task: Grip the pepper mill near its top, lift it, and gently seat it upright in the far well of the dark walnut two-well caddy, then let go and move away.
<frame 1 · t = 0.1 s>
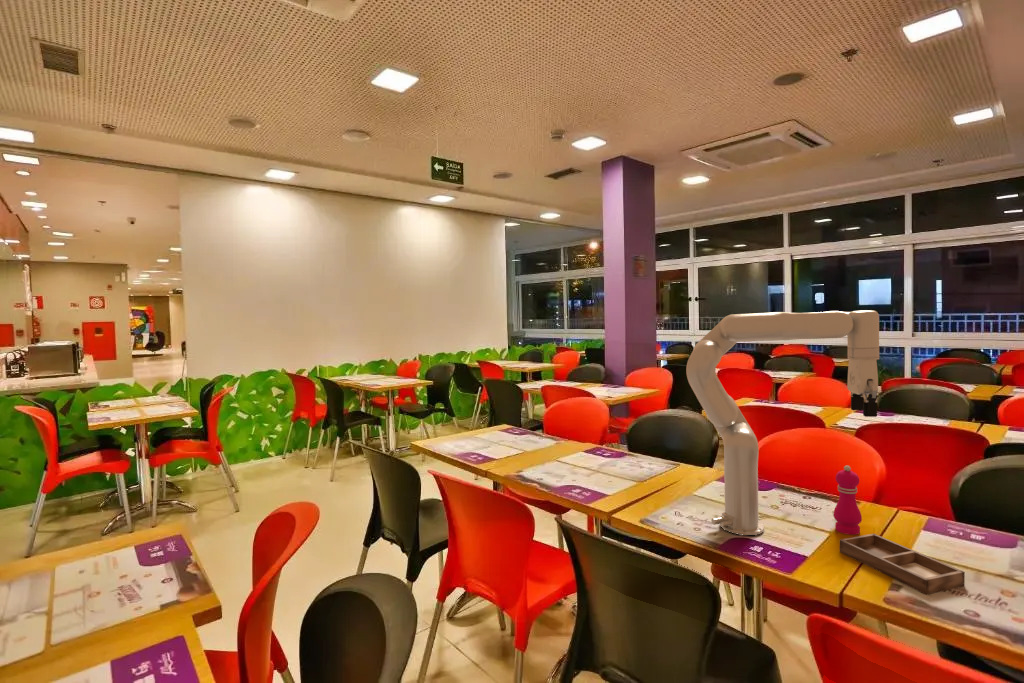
hand: (863, 413, 150), 37 cm above the table, tool pointing down, fingers open, 9 cm apart
caddy: (897, 567, 135), on the table
pepper mill: (847, 531, 158), on the table
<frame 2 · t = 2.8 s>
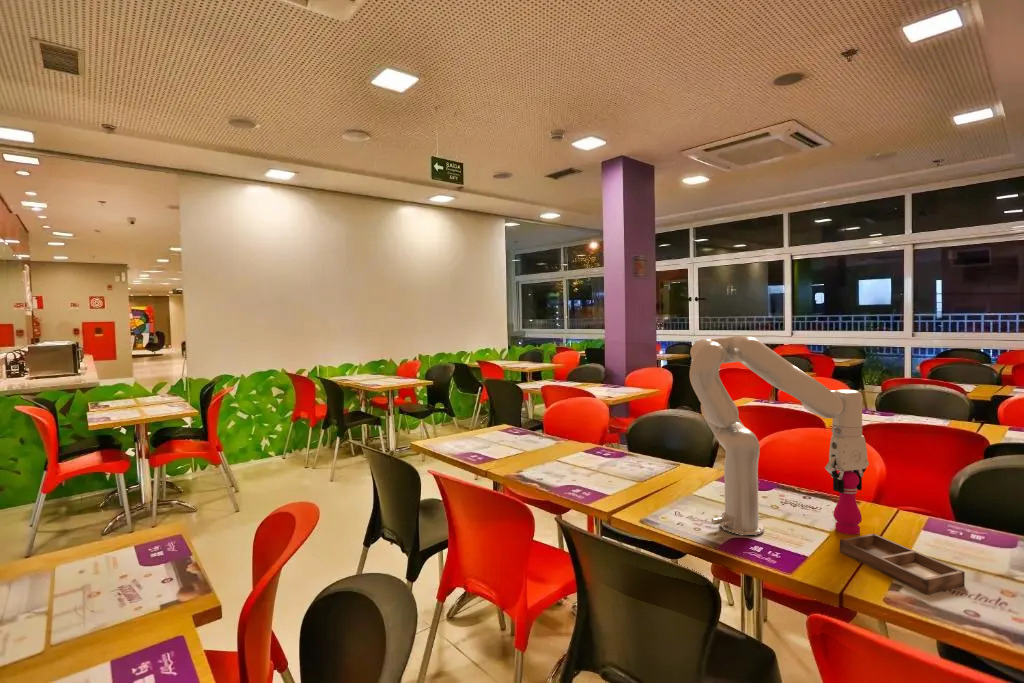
hand: (847, 489, 158), 13 cm above the table, tool pointing down, fingers closed on pepper mill, 6 cm apart
pepper mill: (847, 531, 158), on the table, touching gripper
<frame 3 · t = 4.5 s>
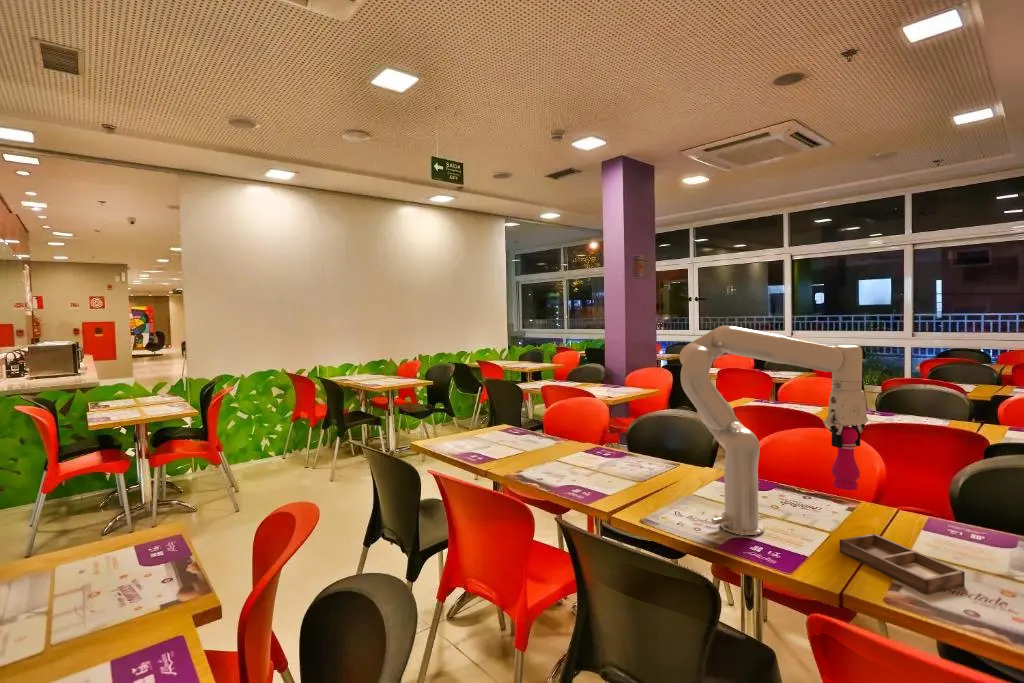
hand: (845, 445, 157), 26 cm above the table, tool pointing down, fingers closed on pepper mill, 6 cm apart
pepper mill: (845, 487, 158), point 13 cm above the table, touching gripper
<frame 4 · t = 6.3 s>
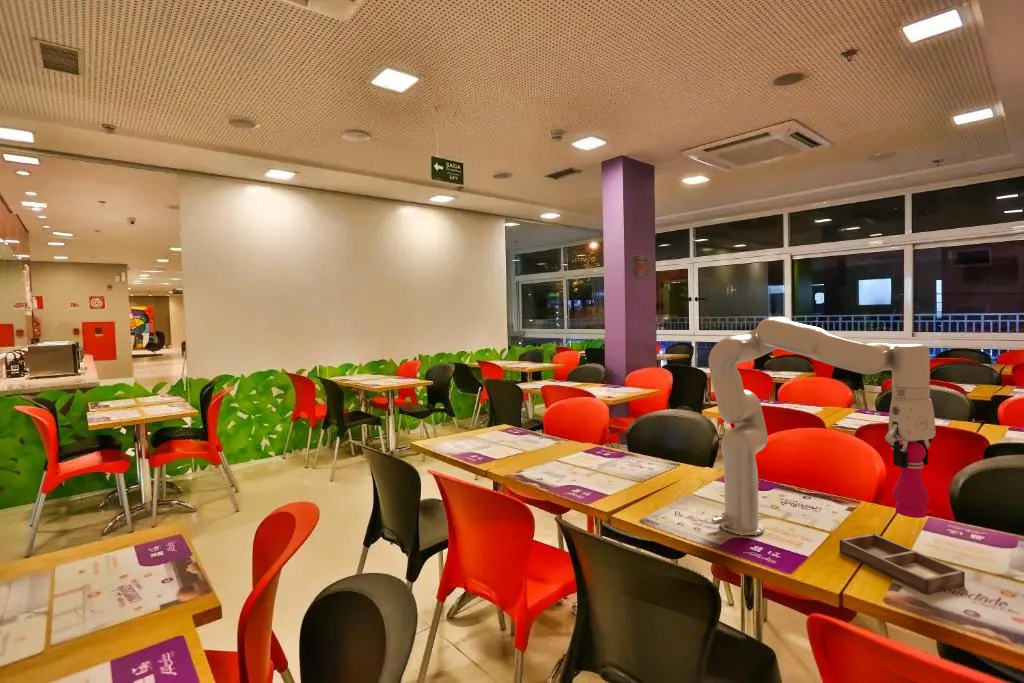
hand: (910, 464, 131), 28 cm above the table, tool pointing down, fingers closed on pepper mill, 6 cm apart
pepper mill: (910, 514, 132), point 15 cm above the table, touching gripper
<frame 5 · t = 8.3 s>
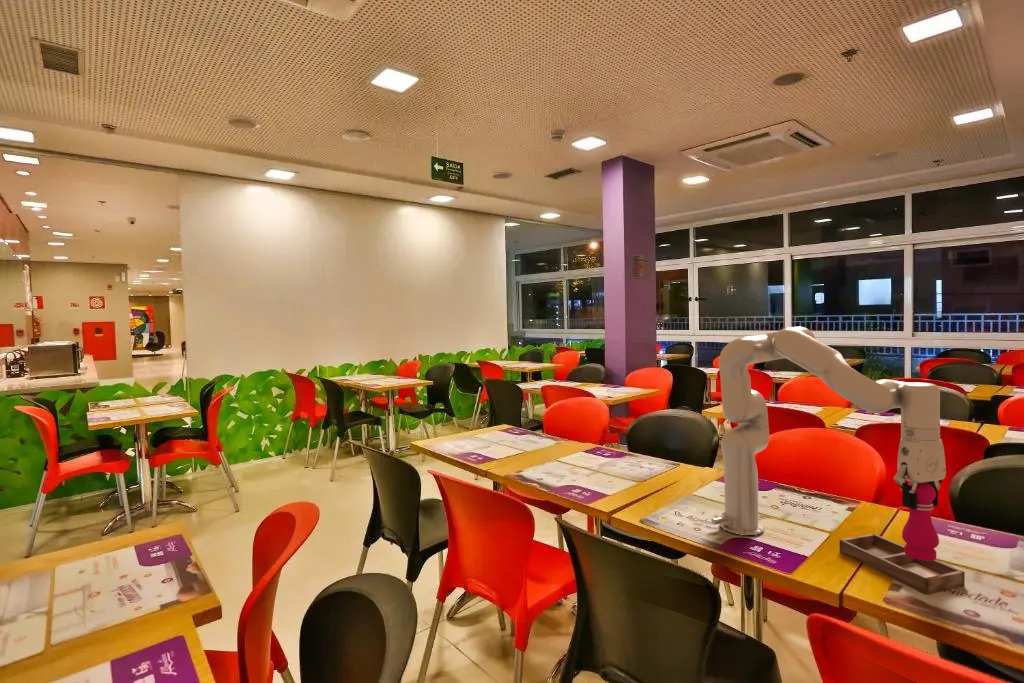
hand: (920, 505, 129), 18 cm above the table, tool pointing down, fingers closed on pepper mill, 6 cm apart
pepper mill: (920, 556, 129), point 6 cm above the table, touching gripper
when the fingers open (15 cm above the table, at t = 9.8 s): pepper mill drops 2 cm, resting on caddy.
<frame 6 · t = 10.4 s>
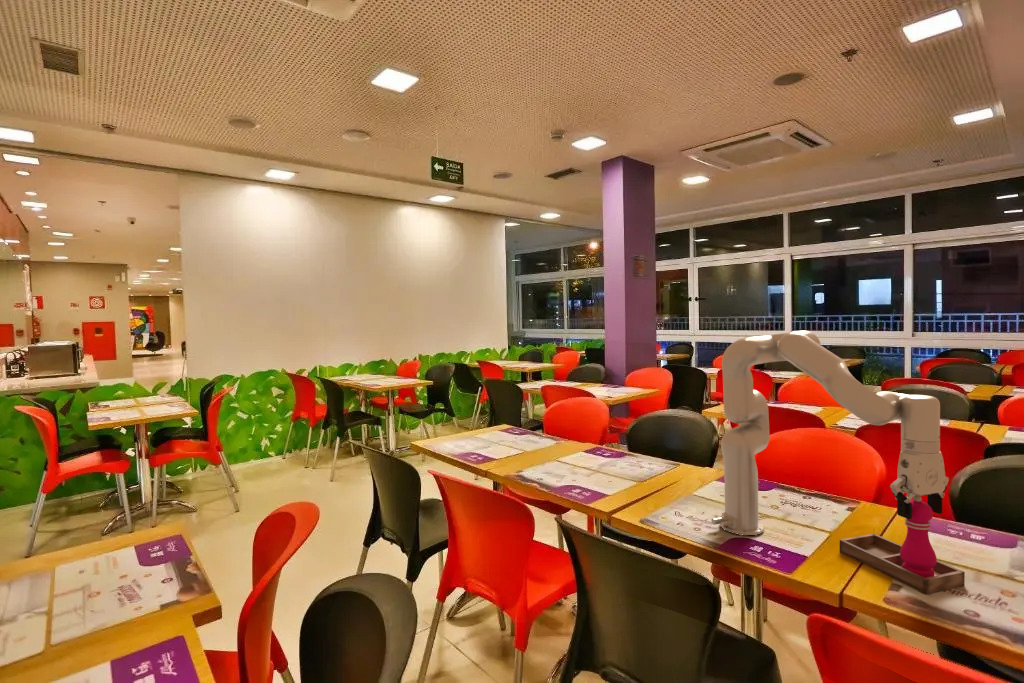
hand: (919, 514, 129), 16 cm above the table, tool pointing down, fingers open, 9 cm apart
pepper mill: (918, 575, 130), point 1 cm above the table, touching caddy
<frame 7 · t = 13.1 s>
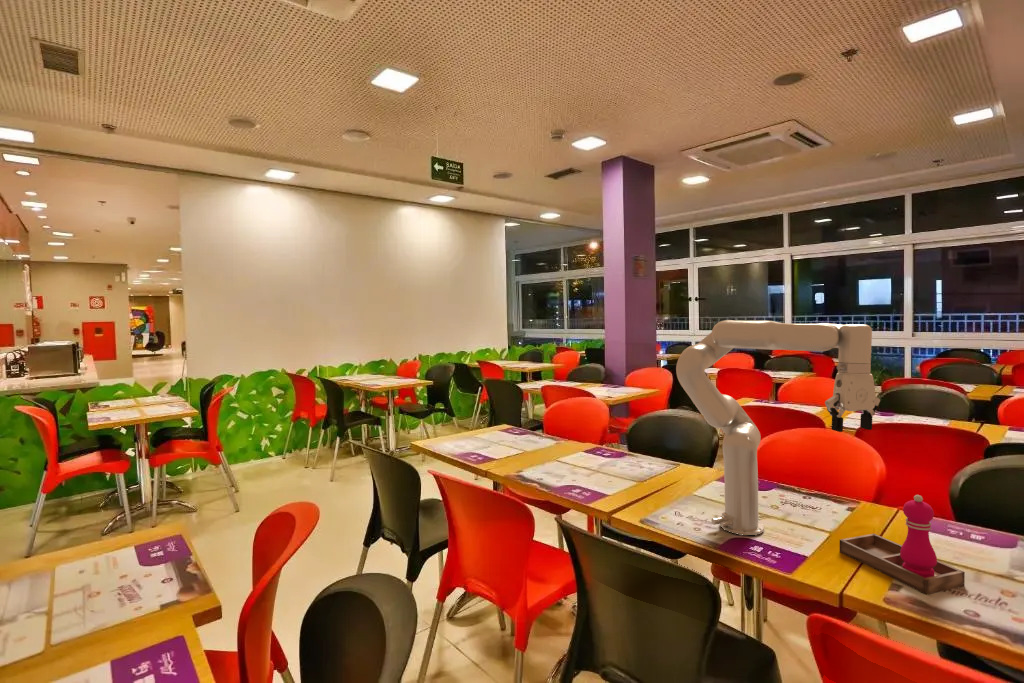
hand: (851, 429, 146), 33 cm above the table, tool pointing down, fingers open, 9 cm apart
nothing on the table moved.
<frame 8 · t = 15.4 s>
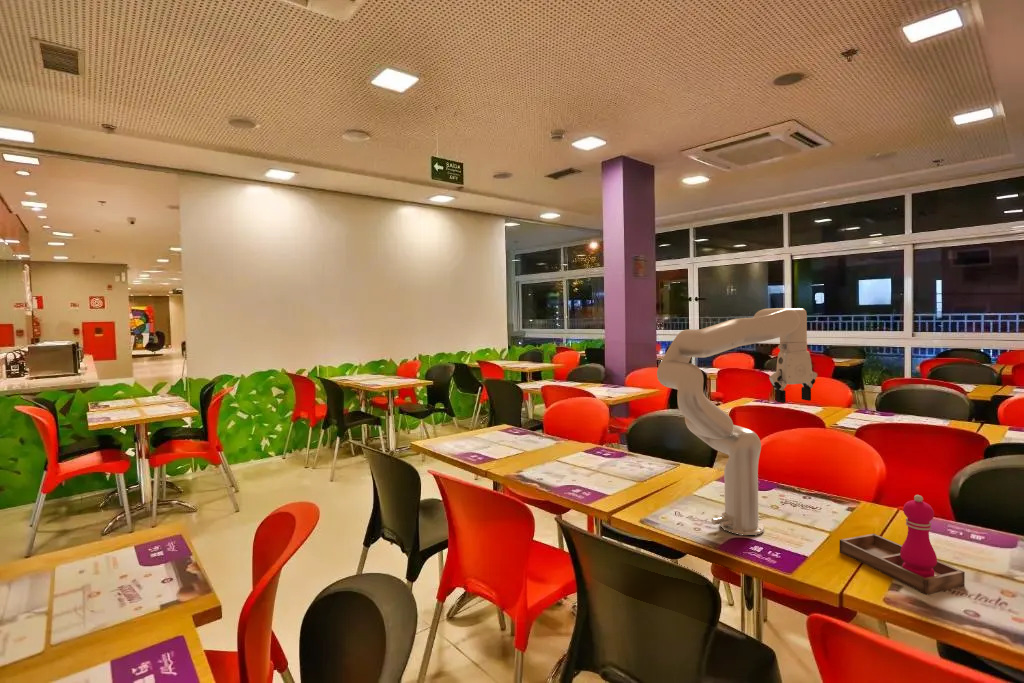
hand: (793, 401, 166), 38 cm above the table, tool pointing down, fingers open, 9 cm apart
nothing on the table moved.
at the end: pepper mill 0.3 cm from the target spot on the caddy, point 0.7 cm above the caddy's base; pepper mill tilted 0°; the gripper is holding nothing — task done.
